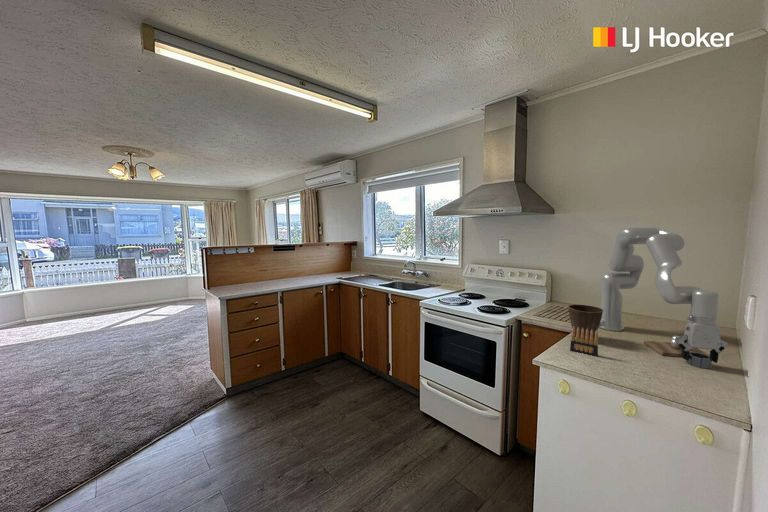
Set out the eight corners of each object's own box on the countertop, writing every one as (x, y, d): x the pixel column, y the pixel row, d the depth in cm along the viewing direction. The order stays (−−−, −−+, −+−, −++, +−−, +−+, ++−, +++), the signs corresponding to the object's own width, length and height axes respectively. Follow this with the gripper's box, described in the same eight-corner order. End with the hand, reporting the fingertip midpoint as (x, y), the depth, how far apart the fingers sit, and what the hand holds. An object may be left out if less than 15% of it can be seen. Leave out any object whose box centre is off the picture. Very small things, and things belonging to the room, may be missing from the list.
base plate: (662, 355, 136) (662, 352, 136) (643, 343, 150) (644, 340, 149) (711, 359, 132) (711, 356, 132) (688, 346, 145) (688, 343, 145)
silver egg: (673, 349, 139) (674, 336, 139) (668, 346, 143) (669, 334, 142) (683, 349, 138) (684, 337, 138) (677, 346, 142) (678, 334, 141)
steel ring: (694, 367, 125) (695, 358, 124) (682, 360, 131) (683, 351, 131) (715, 369, 123) (716, 359, 123) (702, 361, 130) (703, 352, 129)
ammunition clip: (597, 355, 137) (599, 329, 136) (597, 357, 136) (599, 331, 135) (570, 349, 144) (571, 325, 143) (569, 350, 143) (571, 326, 141)
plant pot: (560, 335, 163) (561, 305, 161) (581, 331, 167) (582, 303, 165) (586, 345, 148) (588, 313, 147) (608, 341, 153) (610, 310, 151)
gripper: (683, 321, 124) (680, 362, 125) (737, 324, 119) (732, 366, 121) (671, 316, 131) (668, 354, 133) (721, 318, 127) (717, 358, 128)
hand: (699, 360), depth 127 cm, fingers open, 9 cm apart
